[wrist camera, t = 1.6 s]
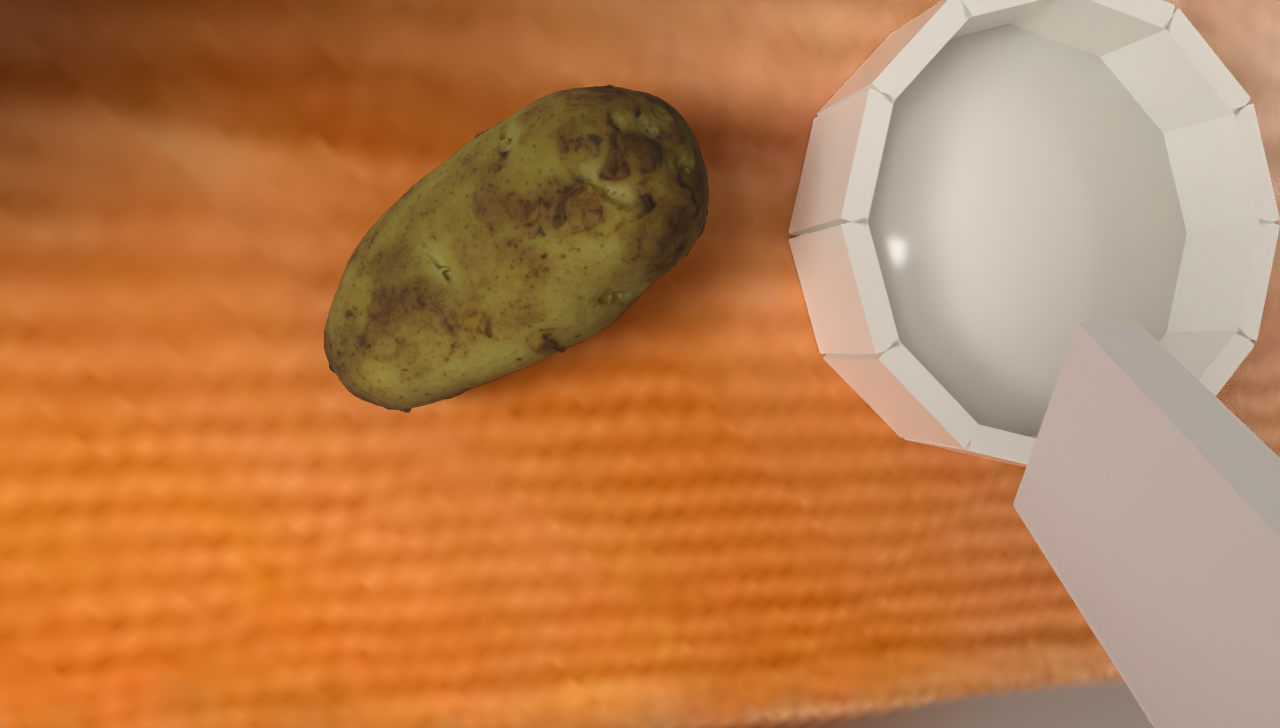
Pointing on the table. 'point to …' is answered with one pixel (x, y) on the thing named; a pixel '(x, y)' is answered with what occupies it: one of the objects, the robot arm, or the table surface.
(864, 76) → the bowl
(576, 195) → the potato
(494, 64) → the table surface
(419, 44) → the table surface
